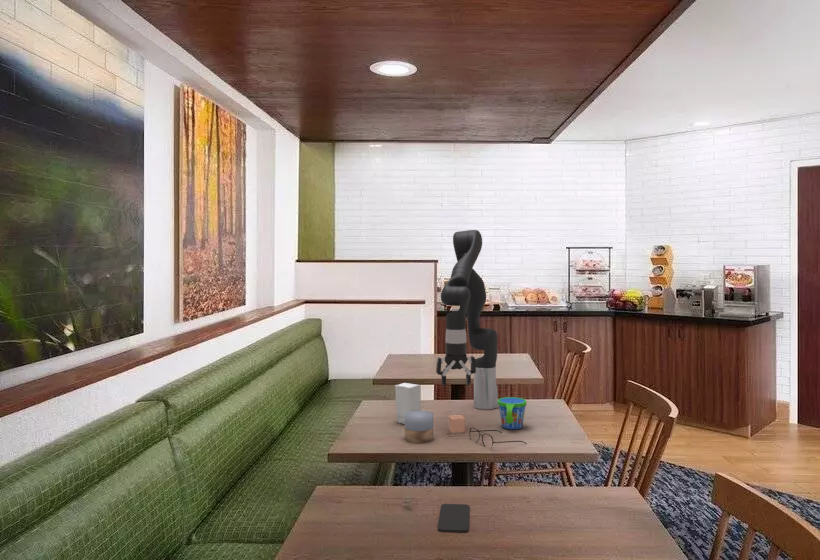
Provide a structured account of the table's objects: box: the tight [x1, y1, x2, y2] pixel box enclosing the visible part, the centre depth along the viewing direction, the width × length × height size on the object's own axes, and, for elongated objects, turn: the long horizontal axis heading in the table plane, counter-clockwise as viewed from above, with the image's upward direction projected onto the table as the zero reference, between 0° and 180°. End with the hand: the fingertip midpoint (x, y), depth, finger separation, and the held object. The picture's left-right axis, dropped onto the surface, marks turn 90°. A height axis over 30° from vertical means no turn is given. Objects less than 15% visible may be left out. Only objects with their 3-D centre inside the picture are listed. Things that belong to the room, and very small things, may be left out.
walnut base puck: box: [404, 427, 434, 444], centre depth 211 cm, size 10×10×4 cm
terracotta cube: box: [448, 414, 466, 434], centre depth 220 cm, size 5×5×5 cm
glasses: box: [469, 427, 528, 450], centre depth 207 cm, size 14×15×5 cm
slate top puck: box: [404, 410, 434, 431], centre depth 211 cm, size 10×10×4 cm
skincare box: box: [394, 382, 422, 425], centre depth 231 cm, size 8×6×15 cm
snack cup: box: [498, 396, 527, 430], centre depth 223 cm, size 16×10×10 cm
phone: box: [437, 503, 471, 534], centre depth 148 cm, size 7×1×15 cm
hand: (456, 385), depth 220 cm, fingers open, 8 cm apart
